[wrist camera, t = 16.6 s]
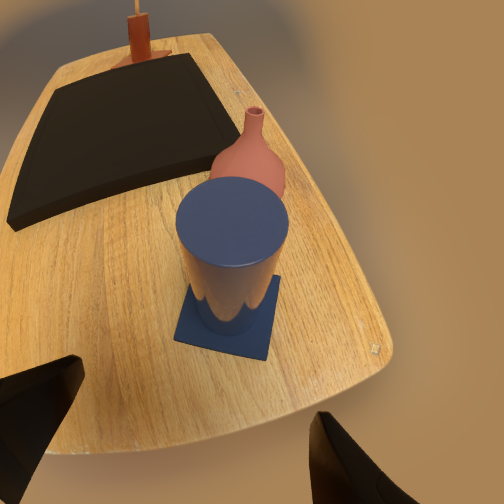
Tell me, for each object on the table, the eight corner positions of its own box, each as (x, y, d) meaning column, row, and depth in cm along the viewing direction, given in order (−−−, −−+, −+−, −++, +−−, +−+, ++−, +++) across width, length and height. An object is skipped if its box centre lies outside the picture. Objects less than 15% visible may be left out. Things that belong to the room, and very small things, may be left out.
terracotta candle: (145, 61, 51) (140, -2, 35) (128, 62, 51) (121, 2, 35) (154, 54, 53) (151, -5, 38) (138, 55, 53) (133, -2, 38)
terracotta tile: (151, 67, 50) (151, 65, 49) (110, 70, 50) (110, 68, 49) (172, 52, 56) (172, 50, 55) (134, 54, 56) (134, 52, 55)
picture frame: (15, 232, 26) (247, 162, 34) (6, 221, 24) (248, 148, 32) (57, 97, 44) (189, 61, 52) (55, 89, 41) (189, 52, 50)
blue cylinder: (230, 348, 22) (234, 292, 11) (186, 307, 23) (152, 217, 12) (270, 306, 24) (310, 216, 13) (227, 269, 25) (231, 161, 14)
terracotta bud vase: (293, 205, 31) (320, 117, 20) (247, 246, 28) (260, 152, 17) (243, 170, 33) (251, 83, 23) (195, 203, 30) (187, 110, 19)
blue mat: (265, 361, 22) (266, 360, 22) (174, 340, 22) (173, 339, 22) (279, 278, 26) (280, 275, 26) (197, 261, 26) (197, 258, 26)
